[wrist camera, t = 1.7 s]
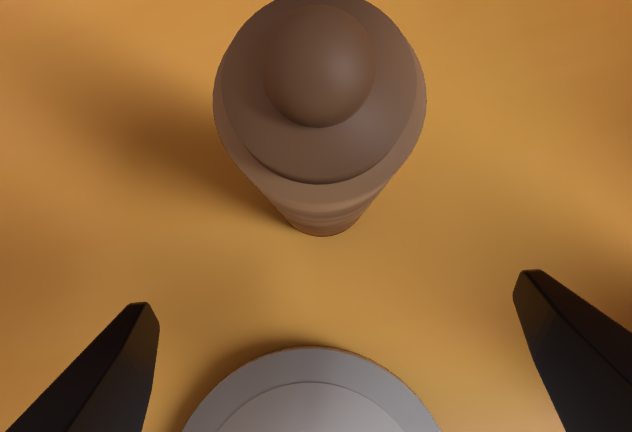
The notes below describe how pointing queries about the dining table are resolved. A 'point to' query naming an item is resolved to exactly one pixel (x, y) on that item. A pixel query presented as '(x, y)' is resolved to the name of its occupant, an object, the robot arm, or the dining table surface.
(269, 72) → the wooden pepper mill
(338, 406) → the plate
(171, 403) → the dining table surface
